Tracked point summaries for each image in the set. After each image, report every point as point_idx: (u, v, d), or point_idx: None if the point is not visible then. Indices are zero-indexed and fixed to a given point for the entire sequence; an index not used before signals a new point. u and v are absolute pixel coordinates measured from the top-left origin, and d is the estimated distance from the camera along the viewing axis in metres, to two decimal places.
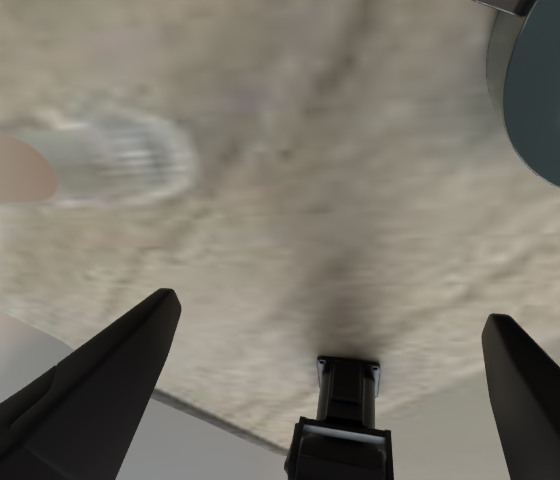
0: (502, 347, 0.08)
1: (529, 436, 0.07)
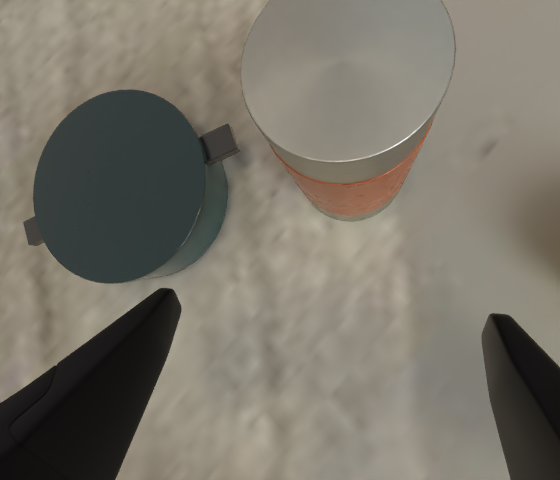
0: (502, 347, 0.08)
1: (529, 436, 0.07)
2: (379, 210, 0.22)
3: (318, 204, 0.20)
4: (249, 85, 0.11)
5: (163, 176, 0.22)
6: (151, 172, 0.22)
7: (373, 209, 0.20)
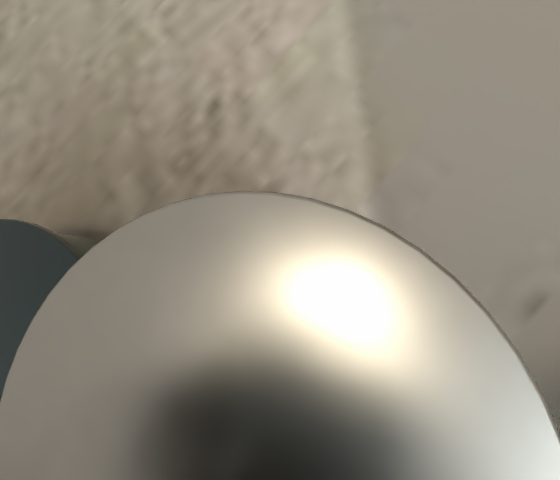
0: None
1: None
2: None
3: None
4: None
5: None
6: None
7: None
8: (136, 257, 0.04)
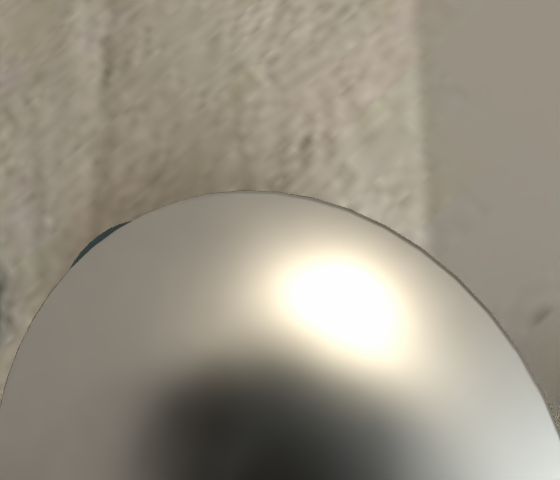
0: None
1: None
2: None
3: None
4: None
5: None
6: None
7: None
8: (137, 256, 0.04)
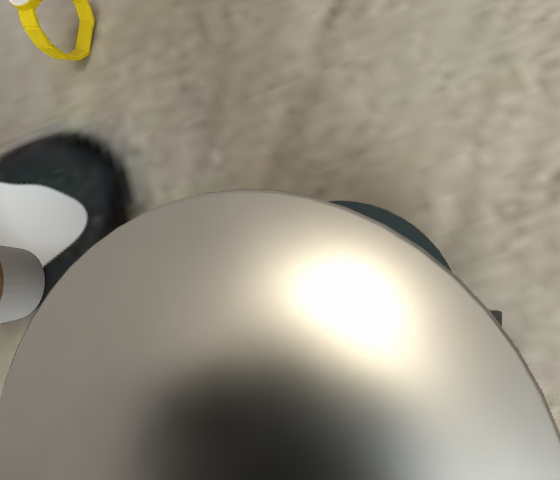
0: None
1: None
2: None
3: None
4: None
5: None
6: None
7: None
8: (136, 255, 0.04)
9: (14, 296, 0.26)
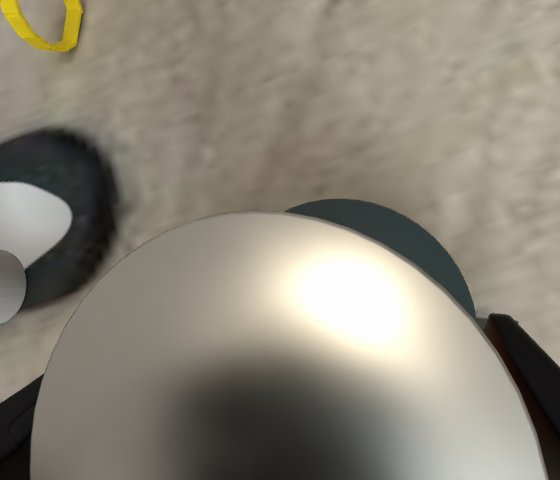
0: (502, 347, 0.08)
1: None
2: None
3: None
4: None
5: None
6: None
7: None
8: (161, 269, 0.05)
9: None
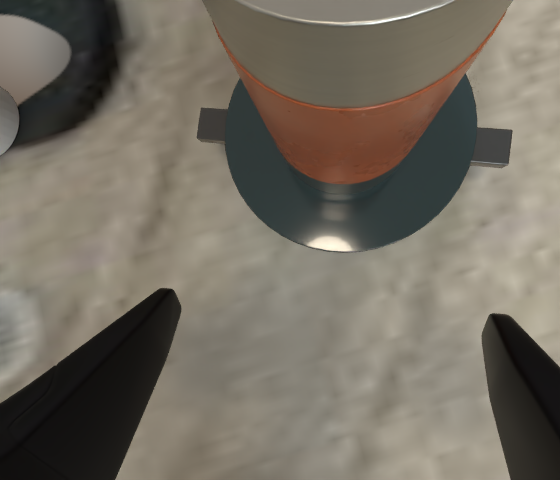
0: (502, 347, 0.08)
1: (529, 436, 0.07)
2: (378, 181, 0.16)
3: (297, 163, 0.14)
4: None
5: (411, 152, 0.17)
6: None
7: (373, 177, 0.14)
8: None
9: None
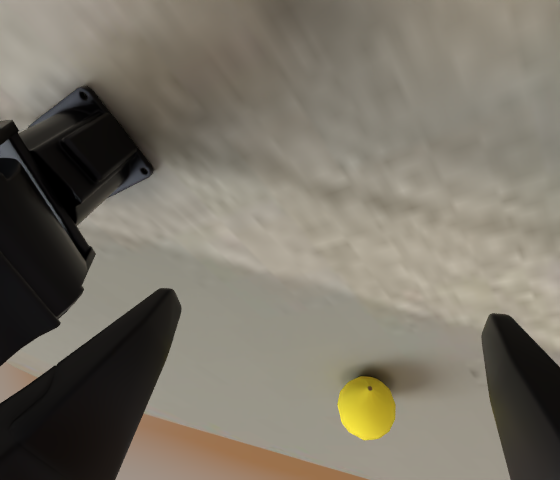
0: (502, 347, 0.08)
1: (529, 436, 0.07)
2: None
3: None
4: None
5: None
6: None
7: None
8: None
9: None
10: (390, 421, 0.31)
